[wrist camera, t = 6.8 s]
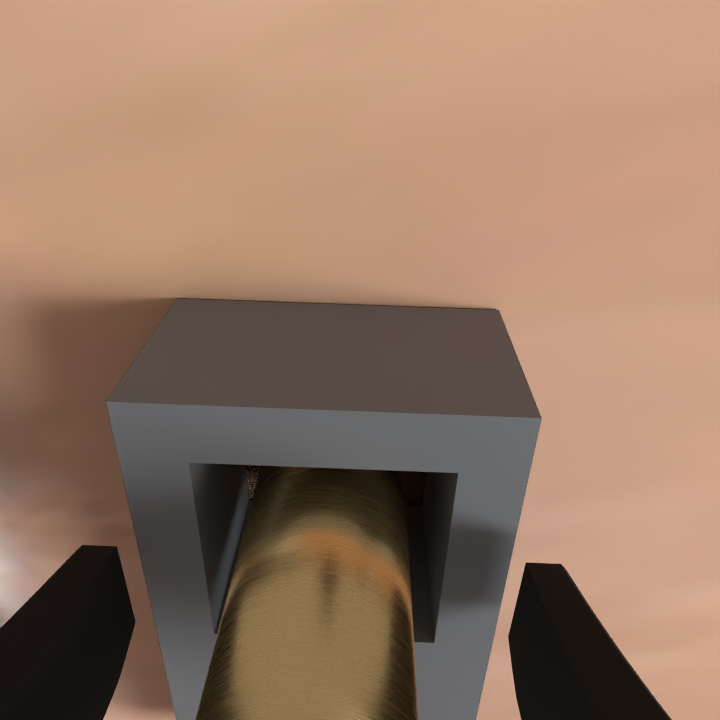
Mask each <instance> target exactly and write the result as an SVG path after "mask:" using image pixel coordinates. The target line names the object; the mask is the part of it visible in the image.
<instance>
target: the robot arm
mask: <svg viewBox="0 0 720 720" xmlns="http://www.w3.org/2000/svg"><path fill="white" fill-rule="evenodd" d="M134 625H135V618H134V614H133V610H132V606H131V602H130V598H129V594H128V590H127V586H126V582H125V578H124V574H123V570H122V566H121V561H120V557H119V553H118V549H117V547H115V546H89V545H82V546H81V547H80V548H79V549H78V550H77V551H76V552H75V553H74V554H73V555H72V556H71V557H70V558H69V559H68V560H67V561H66V562H65V563H64V564H63V565H62V566H61V567H60V568H59V569H58V570H57V571H56V572H55V573H54V574H53V575H52V576H51V577H50V578H49V579H48V580H47V582H46V583H45V584H44V585H43V586H42V587H41V588H40V589H39V590H38V591H37V592H36V593H35V594H34V595H33V596H32V597H31V598H30V599H29V600H28V601H27V602H26V603H25V604H24V605H23V606H22V607H21V608H20V609H19V610H18V611H17V612H16V613H15V614H14V615H13V616H12V617H11V618H10V619H9V620H8V621H7V622H6V623H5V624H4V625H3V626H2V627H1V628H0V720H103V718H104V716H105V713H106V711H107V708H108V706H109V704H110V701H111V699H112V696H113V694H114V691H115V689H116V686H117V684H118V681H119V678H120V674H121V671H122V668H123V664H124V661H125V658H126V654H127V651H128V647H129V643H130V640H131V636H132V632H133V629H134ZM508 638H509V646H510V654H511V662H512V670H513V677H514V684H515V691H516V698H517V702H518V707H519V711H520V715H521V719H522V720H671V718H670V717H669V716H668V715H667V713H666V712H665V711H664V709H663V708H662V707H661V705H660V704H659V703H658V702H657V700H656V699H655V698H654V696H653V695H652V694H651V692H650V691H649V690H648V688H647V687H646V686H645V684H644V683H643V681H642V680H641V679H640V677H639V676H638V675H637V673H636V672H635V671H634V669H633V668H632V666H631V665H630V664H629V662H628V661H627V660H626V658H625V657H624V656H623V654H622V653H621V651H620V650H619V648H618V647H617V646H616V644H615V643H614V641H613V640H612V638H611V637H610V636H609V634H608V633H607V631H606V630H605V628H604V627H603V625H602V624H601V622H600V621H599V619H598V618H597V617H596V615H595V614H594V612H593V611H592V609H591V607H590V606H589V604H588V603H587V601H586V600H585V598H584V597H583V595H582V594H581V592H580V591H579V589H578V588H577V586H576V584H575V583H574V581H573V580H572V578H571V577H570V575H569V574H568V572H567V570H566V569H565V568H564V567H563V566H562V565H561V564H546V563H526V565H525V569H524V573H523V577H522V581H521V586H520V590H519V594H518V598H517V603H516V607H515V611H514V615H513V619H512V624H511V628H510V632H509V636H508Z"/></svg>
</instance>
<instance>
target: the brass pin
mask: <svg viewBox="0 0 720 720" xmlns="http://www.w3.org/2000/svg"><path fill="white" fill-rule="evenodd" d="M195 720H418V707H417V689H416V671H415V652H414V634H413V616H412V598H411V580H410V562H409V544H408V526H407V508H406V490H405V472H404V471H392V470H366V469H340V468H314V467H288V466H261V467H260V471H259V475H258V479H257V483H256V487H255V490H254V494H253V498H252V502H251V506H250V510H249V514H248V518H247V521H246V525H245V529H244V533H243V537H242V541H241V545H240V549H239V553H238V556H237V560H236V564H235V568H234V572H233V576H232V580H231V584H230V587H229V591H228V595H227V599H226V603H225V607H224V611H223V615H222V619H221V622H220V626H219V630H218V634H217V638H216V642H215V646H214V650H213V653H212V657H211V661H210V665H209V669H208V673H207V677H206V681H205V685H204V688H203V692H202V696H201V700H200V704H199V708H198V712H197V716H196V719H195Z"/></svg>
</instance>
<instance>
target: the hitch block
mask: <svg viewBox="0 0 720 720" xmlns="http://www.w3.org/2000/svg"><path fill="white" fill-rule="evenodd" d="M106 405H107V409H108V414H109V418H110V423H111V427H112V432H113V436H114V441H115V446H116V450H117V455H118V459H119V464H120V468H121V473H122V477H123V482H124V486H125V491H126V495H127V500H128V504H129V509H130V513H131V518H132V522H133V527H134V531H135V536H136V540H137V545H138V549H139V554H140V558H141V563H142V567H143V572H144V576H145V581H146V585H147V590H148V594H149V599H150V603H151V608H152V612H153V617H154V621H155V626H156V630H157V635H158V639H159V644H160V648H161V653H162V657H163V662H164V666H165V671H166V675H167V680H168V685H169V689H170V694H171V698H172V703H173V707H174V712H175V716H176V720H195V719H196V716H197V712H198V708H199V704H200V700H201V696H202V692H203V688H204V685H205V681H206V677H207V673H208V669H209V665H210V661H211V657H212V653H213V650H214V646H215V642H216V638H217V634H218V630H219V626H220V622H221V619H222V615H223V611H224V607H225V603H226V599H227V595H228V591H229V587H230V584H231V580H232V576H233V572H234V568H235V564H236V560H237V556H238V553H239V549H240V545H241V541H242V537H243V533H244V529H245V525H246V521H247V518H248V514H249V510H250V506H251V502H252V500H249V492H248V481H247V469H246V465H261V466H288V467H314V468H340V469H366V470H392V471H418V472H426V476H425V486H424V495H423V505H422V506H406V508H407V526H408V544H409V562H410V580H411V598H412V616H413V634H414V652H415V671H416V689H417V707H418V720H476V716H477V712H478V707H479V703H480V698H481V694H482V689H483V684H484V680H485V675H486V671H487V666H488V661H489V657H490V652H491V648H492V643H493V638H494V634H495V629H496V625H497V620H498V616H499V611H500V606H501V602H502V597H503V593H504V588H505V583H506V579H507V574H508V570H509V565H510V561H511V556H512V551H513V547H514V542H515V538H516V533H517V528H518V524H519V519H520V515H521V510H522V506H523V501H524V496H525V492H526V487H527V483H528V478H529V473H530V469H531V464H532V460H533V455H534V450H535V446H536V441H537V437H538V432H539V428H540V423H541V416H540V413H539V410H538V408H537V405H536V403H535V400H534V398H533V395H532V393H531V390H530V388H529V385H528V383H527V380H526V378H525V375H524V372H523V370H522V367H521V365H520V362H519V360H518V357H517V355H516V352H515V350H514V347H513V345H512V342H511V340H510V337H509V335H508V332H507V329H506V327H505V324H504V322H503V319H502V317H501V314H500V312H499V310H486V309H458V308H430V307H402V306H374V305H346V304H318V303H291V302H263V301H235V300H207V299H179V298H177V299H176V300H175V302H174V303H173V305H172V306H171V308H170V309H169V311H168V312H167V314H166V315H165V316H164V318H163V319H162V321H161V322H160V324H159V325H158V327H157V328H156V330H155V331H154V333H153V334H152V335H151V337H150V338H149V340H148V341H147V343H146V344H145V346H144V347H143V349H142V350H141V351H140V353H139V354H138V356H137V357H136V359H135V360H134V362H133V363H132V365H131V366H130V367H129V369H128V370H127V372H126V373H125V375H124V376H123V378H122V379H121V381H120V382H119V383H118V385H117V386H116V388H115V389H114V391H113V392H112V394H111V395H110V397H109V398H108V399H107V401H106Z"/></svg>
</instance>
